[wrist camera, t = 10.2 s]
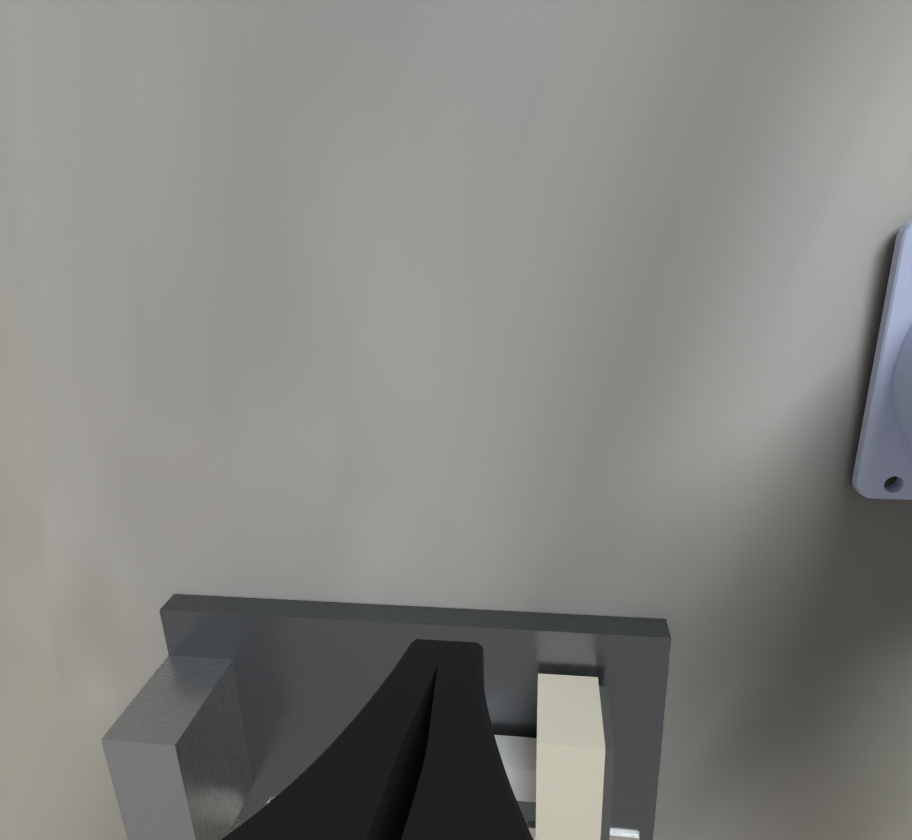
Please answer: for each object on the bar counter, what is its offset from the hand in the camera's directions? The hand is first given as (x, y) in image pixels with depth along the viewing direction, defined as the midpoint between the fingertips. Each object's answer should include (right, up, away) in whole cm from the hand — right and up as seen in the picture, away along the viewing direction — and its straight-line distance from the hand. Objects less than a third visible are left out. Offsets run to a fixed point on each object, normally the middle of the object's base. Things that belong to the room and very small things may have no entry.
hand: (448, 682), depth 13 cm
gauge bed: (-1, -6, +13) cm, 14 cm away
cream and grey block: (+2, -7, +11) cm, 13 cm away
